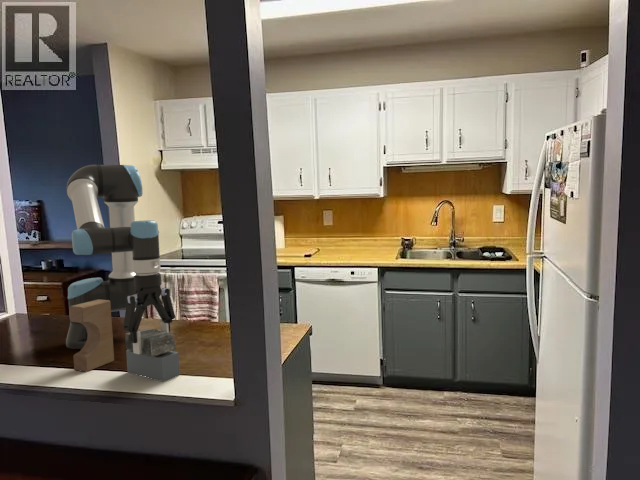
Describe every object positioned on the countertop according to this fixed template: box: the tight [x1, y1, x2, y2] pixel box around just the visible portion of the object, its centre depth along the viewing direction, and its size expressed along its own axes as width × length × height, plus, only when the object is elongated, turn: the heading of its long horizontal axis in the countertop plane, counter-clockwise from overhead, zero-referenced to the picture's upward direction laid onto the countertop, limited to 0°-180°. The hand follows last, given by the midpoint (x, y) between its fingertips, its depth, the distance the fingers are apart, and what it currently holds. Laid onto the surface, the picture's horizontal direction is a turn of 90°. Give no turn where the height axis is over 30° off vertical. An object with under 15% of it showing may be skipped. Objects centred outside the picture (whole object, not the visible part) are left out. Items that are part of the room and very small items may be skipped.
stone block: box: [124, 328, 177, 357], centre depth 144 cm, size 9×14×5 cm, turn 49°
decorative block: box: [69, 299, 115, 372], centre depth 153 cm, size 11×6×20 cm, turn 154°
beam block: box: [125, 349, 181, 383], centre depth 145 cm, size 16×6×7 cm, turn 58°
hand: (151, 348), depth 144 cm, fingers closed on stone block, 9 cm apart
